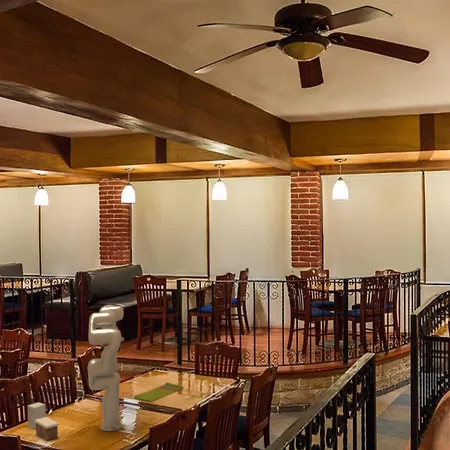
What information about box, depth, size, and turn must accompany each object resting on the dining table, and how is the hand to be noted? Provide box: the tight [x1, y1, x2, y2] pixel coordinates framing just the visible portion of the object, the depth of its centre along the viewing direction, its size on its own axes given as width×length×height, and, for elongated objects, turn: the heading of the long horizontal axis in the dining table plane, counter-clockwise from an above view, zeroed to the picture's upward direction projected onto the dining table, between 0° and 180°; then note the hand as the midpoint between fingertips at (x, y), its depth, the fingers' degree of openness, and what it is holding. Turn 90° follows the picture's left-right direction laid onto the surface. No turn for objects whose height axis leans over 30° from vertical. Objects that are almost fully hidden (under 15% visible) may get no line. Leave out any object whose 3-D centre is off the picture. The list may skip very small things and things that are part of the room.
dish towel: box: [133, 382, 184, 403], centre depth 385 cm, size 15×36×3 cm, turn 147°
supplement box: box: [27, 401, 47, 430], centre depth 326 cm, size 7×7×13 cm
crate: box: [35, 423, 59, 442], centre depth 310 cm, size 14×6×7 cm, turn 42°
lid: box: [35, 416, 60, 429], centre depth 310 cm, size 15×7×2 cm, turn 42°
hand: (110, 352), depth 351 cm, fingers open, 9 cm apart
